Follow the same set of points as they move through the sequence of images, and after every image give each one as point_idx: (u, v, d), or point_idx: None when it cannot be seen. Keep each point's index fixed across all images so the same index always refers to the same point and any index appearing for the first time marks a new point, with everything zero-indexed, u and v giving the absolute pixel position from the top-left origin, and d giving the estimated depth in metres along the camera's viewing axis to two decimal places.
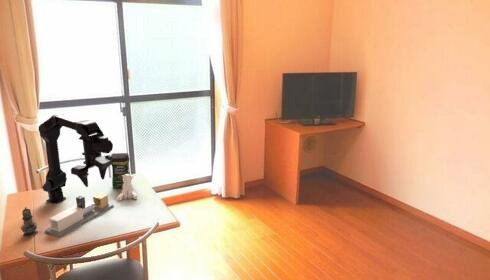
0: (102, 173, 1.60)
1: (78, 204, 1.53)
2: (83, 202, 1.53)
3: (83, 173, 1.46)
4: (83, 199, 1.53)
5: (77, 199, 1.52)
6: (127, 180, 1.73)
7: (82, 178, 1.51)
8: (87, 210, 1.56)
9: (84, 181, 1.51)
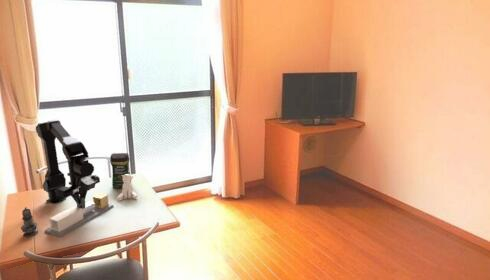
0: None
1: None
2: (83, 202, 1.53)
3: (68, 195, 1.43)
4: (83, 199, 1.53)
5: None
6: (127, 180, 1.73)
7: (74, 196, 1.50)
8: (87, 210, 1.56)
9: (76, 199, 1.51)
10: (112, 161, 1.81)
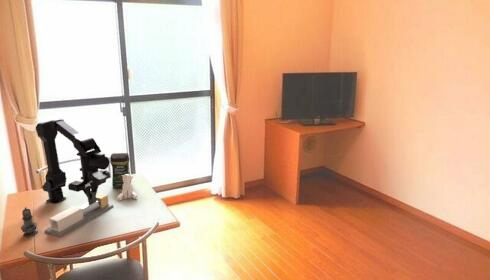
0: (94, 190, 1.59)
1: None
2: (94, 196, 1.58)
3: (80, 189, 1.49)
4: (94, 194, 1.58)
5: None
6: (127, 180, 1.73)
7: (85, 191, 1.56)
8: (98, 205, 1.61)
9: (87, 193, 1.56)
10: (112, 161, 1.81)
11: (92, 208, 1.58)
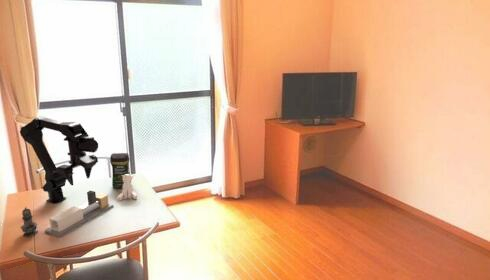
0: (87, 172, 1.67)
1: (89, 198, 1.58)
2: (94, 196, 1.58)
3: (68, 172, 1.54)
4: (94, 194, 1.58)
5: (88, 194, 1.58)
6: (127, 180, 1.73)
7: (67, 177, 1.58)
8: (98, 205, 1.61)
9: (69, 180, 1.58)
10: (112, 161, 1.81)
11: (92, 208, 1.58)
